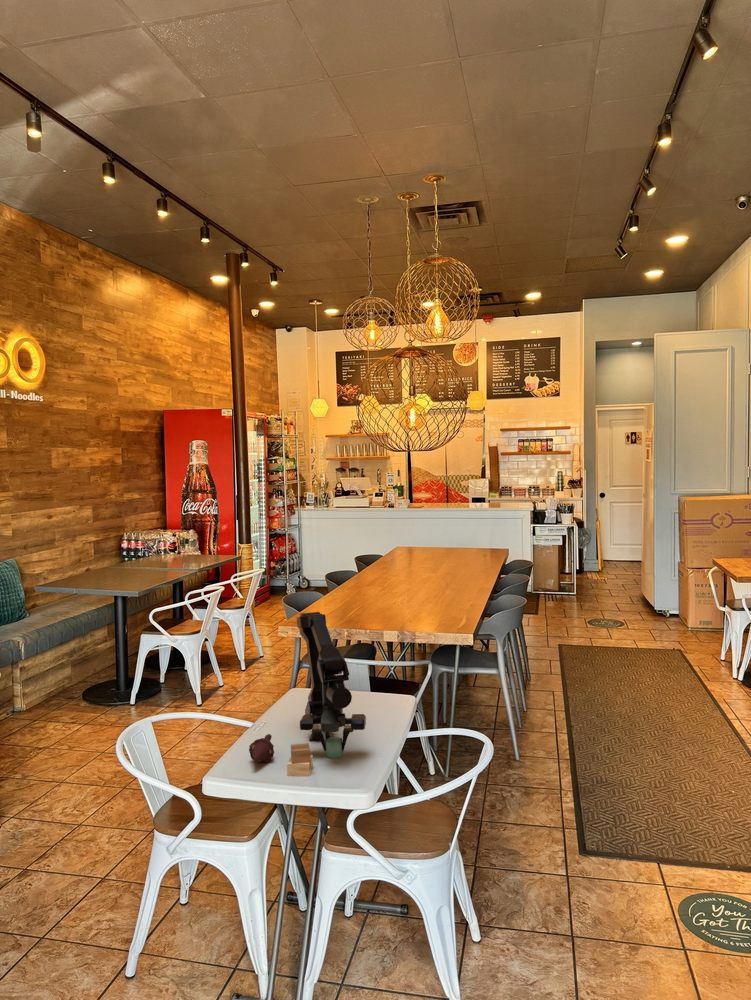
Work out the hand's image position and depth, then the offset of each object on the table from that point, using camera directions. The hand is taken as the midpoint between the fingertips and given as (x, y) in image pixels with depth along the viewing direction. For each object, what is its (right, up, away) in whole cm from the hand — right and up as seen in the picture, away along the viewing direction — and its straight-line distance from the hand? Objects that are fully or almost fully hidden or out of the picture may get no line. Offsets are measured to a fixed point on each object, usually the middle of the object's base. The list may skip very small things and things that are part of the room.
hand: (334, 751), depth 204 cm
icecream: (-20, -2, -3) cm, 21 cm away
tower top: (-9, +1, -10) cm, 14 cm away
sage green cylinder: (0, -1, 0) cm, 1 cm away
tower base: (-9, -2, -10) cm, 14 cm away
